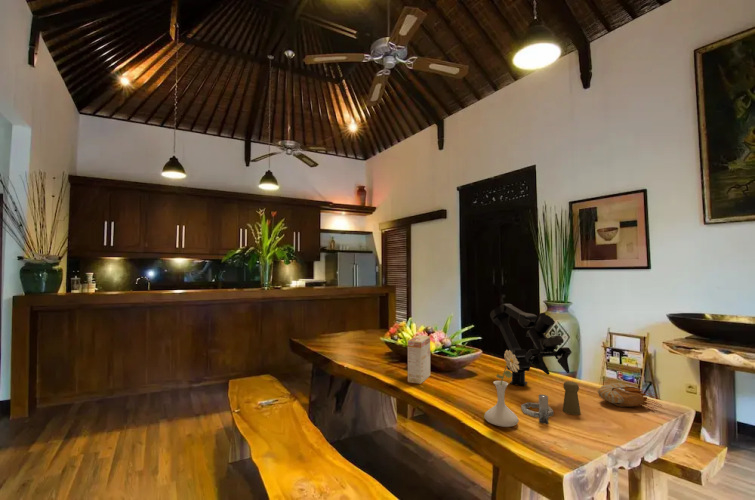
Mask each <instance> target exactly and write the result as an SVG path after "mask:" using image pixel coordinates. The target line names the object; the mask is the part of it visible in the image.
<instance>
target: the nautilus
mask: <svg viewBox="0 0 755 500" xmlns="http://www.w3.org/2000/svg"><path fill="white" fill-rule="evenodd" d="M649 392H651V390H648V389H645V390H643V389H642V388H641V389H640V387H637V386H635V385H630V384H627V383H621V382H620V383H619V382H616V383H615V382H613V383H606V384H603V385H602V386H600V387H599V388H598V389H597V394H598V396H599V397H600V398H601V399H602V400H604V401H606V402H609V403H611V404H613V405H615V406H616V407H643V408H646V409H647V410H650V411H652V412H654V413H655V410H657V409H658V408H660V409H663V410H664V408H663V405H662V404H660V403H658V402H657V401H655V400H653V399H658V400H660V401H662V399H661V398H659V397H656V395H658V394H656V393H649ZM648 397H650V398H652V399H649V398H648ZM649 403H650V405H652V406H649ZM654 406H655V407H654ZM656 407H657V408H656ZM652 409H653V410H652Z"/></svg>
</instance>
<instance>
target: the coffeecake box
mask: <svg viewBox="0 0 755 500" xmlns="http://www.w3.org/2000/svg"><path fill="white" fill-rule="evenodd" d="M430 376H431V336H428V335H422V334H421V335H417V334H416V336H414V337H412V338H410V339H408V340H407V382H408V383H410V384H411V383H413V384H418V385H419V384H420V385H421V384H423V383H424V381H426V380H427V379H428V378H429V377H430Z"/></svg>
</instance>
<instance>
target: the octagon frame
mask: <svg viewBox="0 0 755 500" xmlns="http://www.w3.org/2000/svg"><path fill="white" fill-rule="evenodd" d="M529 407H532V408H531V409H538V411H534V410H531V409H529ZM551 407H552V406H549V396H548V395H546V394H539V395H538V402H526V403H525V402H524V403H522V404H521V405H520V408H521V412H522V414H525V415H527V416H530V417H533V418H538V422H539V423H540V424H542V425H548V424H549V418H550V417H553V416H554V410H553V408H551Z"/></svg>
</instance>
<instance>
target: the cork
mask: <svg viewBox="0 0 755 500" xmlns="http://www.w3.org/2000/svg"><path fill="white" fill-rule="evenodd" d="M562 386H563V389H564V396H563V397H564V398H563V405H562V412H563V413H564V414H566V415H567V414H568V415H570V416H579V415H581V413H582V412H581V407H580V401H579V394H578V392H579V390H580V385H579V384H578V383H577V382H576V381H575V382H574V381H569V380H567V381H564V382H563V384H562Z"/></svg>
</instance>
